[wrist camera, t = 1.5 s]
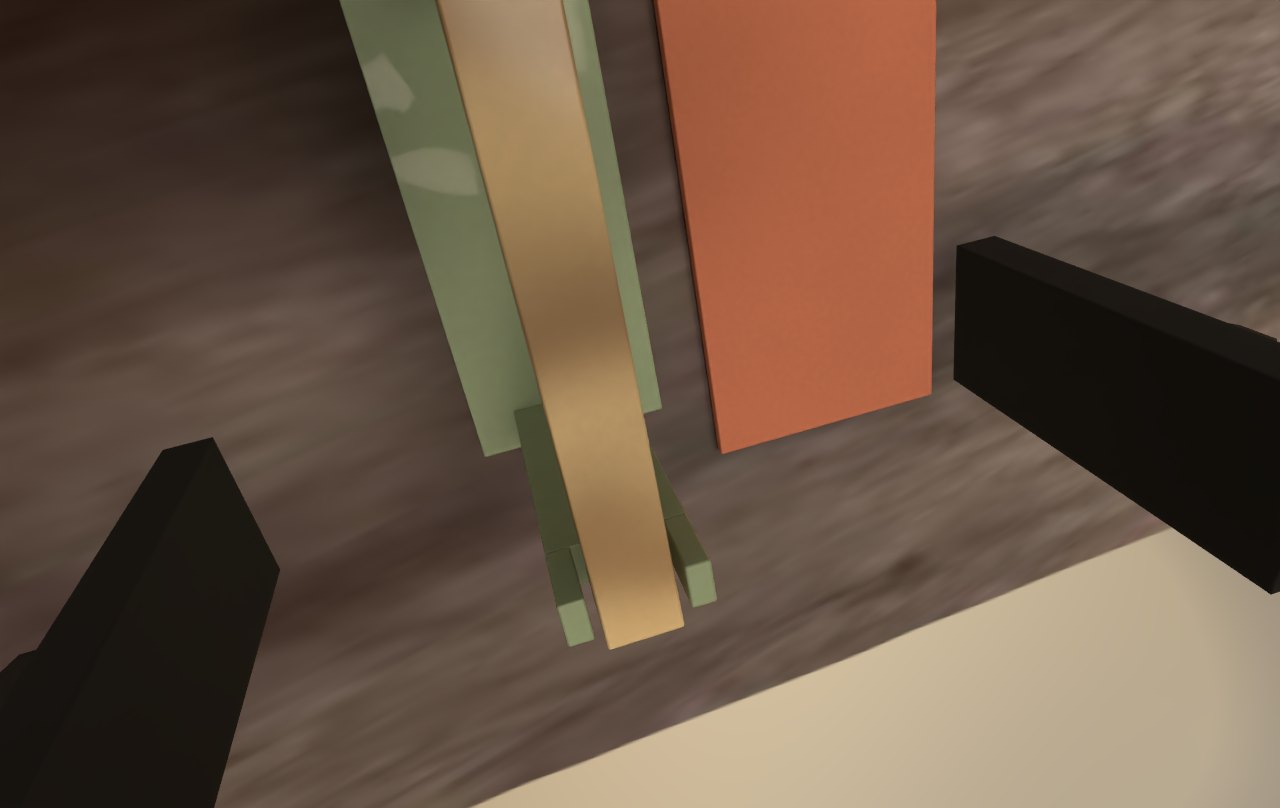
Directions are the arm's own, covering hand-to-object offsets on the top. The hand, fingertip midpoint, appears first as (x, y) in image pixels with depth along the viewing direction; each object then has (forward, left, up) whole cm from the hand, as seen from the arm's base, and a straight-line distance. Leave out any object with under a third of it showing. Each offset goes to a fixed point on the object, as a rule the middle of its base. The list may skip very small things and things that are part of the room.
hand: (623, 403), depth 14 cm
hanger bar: (0, 0, -8) cm, 8 cm away
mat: (+2, +12, -19) cm, 22 cm away
